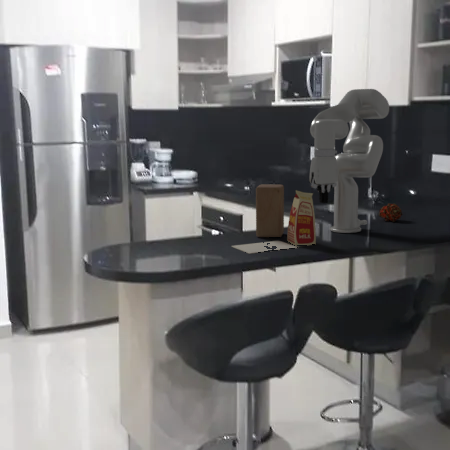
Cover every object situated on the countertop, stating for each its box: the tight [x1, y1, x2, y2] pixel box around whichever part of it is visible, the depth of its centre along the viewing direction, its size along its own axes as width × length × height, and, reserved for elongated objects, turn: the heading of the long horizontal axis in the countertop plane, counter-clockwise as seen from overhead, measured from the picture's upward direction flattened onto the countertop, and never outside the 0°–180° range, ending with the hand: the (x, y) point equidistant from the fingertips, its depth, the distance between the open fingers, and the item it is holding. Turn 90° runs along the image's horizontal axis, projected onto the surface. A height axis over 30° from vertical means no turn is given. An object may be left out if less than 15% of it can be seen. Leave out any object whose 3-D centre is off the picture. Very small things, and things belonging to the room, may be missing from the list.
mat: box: [231, 240, 298, 255], centre depth 234 cm, size 20×14×1 cm
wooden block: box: [255, 183, 285, 238], centre depth 255 cm, size 10×10×20 cm
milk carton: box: [286, 189, 317, 247], centre depth 239 cm, size 9×9×20 cm
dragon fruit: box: [378, 203, 404, 222], centre depth 286 cm, size 8×8×12 cm
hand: (323, 202), depth 242 cm, fingers closed
